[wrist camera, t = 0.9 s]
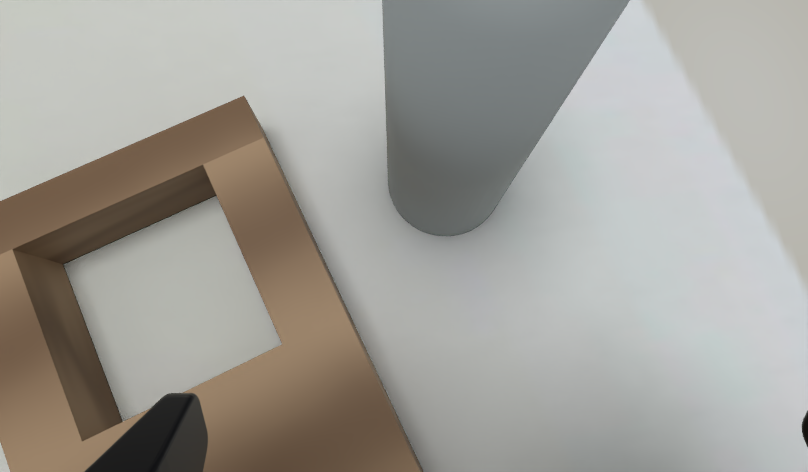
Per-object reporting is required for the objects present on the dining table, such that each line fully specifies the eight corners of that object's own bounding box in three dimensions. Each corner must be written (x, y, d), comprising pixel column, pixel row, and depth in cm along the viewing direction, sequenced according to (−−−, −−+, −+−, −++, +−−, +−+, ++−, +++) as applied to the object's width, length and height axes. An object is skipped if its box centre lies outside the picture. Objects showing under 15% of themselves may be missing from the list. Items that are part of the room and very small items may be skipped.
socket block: (446, 522, 20) (455, 549, 18) (145, 684, 19) (101, 741, 16) (262, 129, 23) (243, 95, 20) (-9, 249, 22) (-71, 231, 19)
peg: (521, 206, 23) (709, -28, 9) (419, 255, 22) (458, 86, 9) (468, 110, 24) (571, -236, 10) (369, 155, 23) (333, -143, 10)
